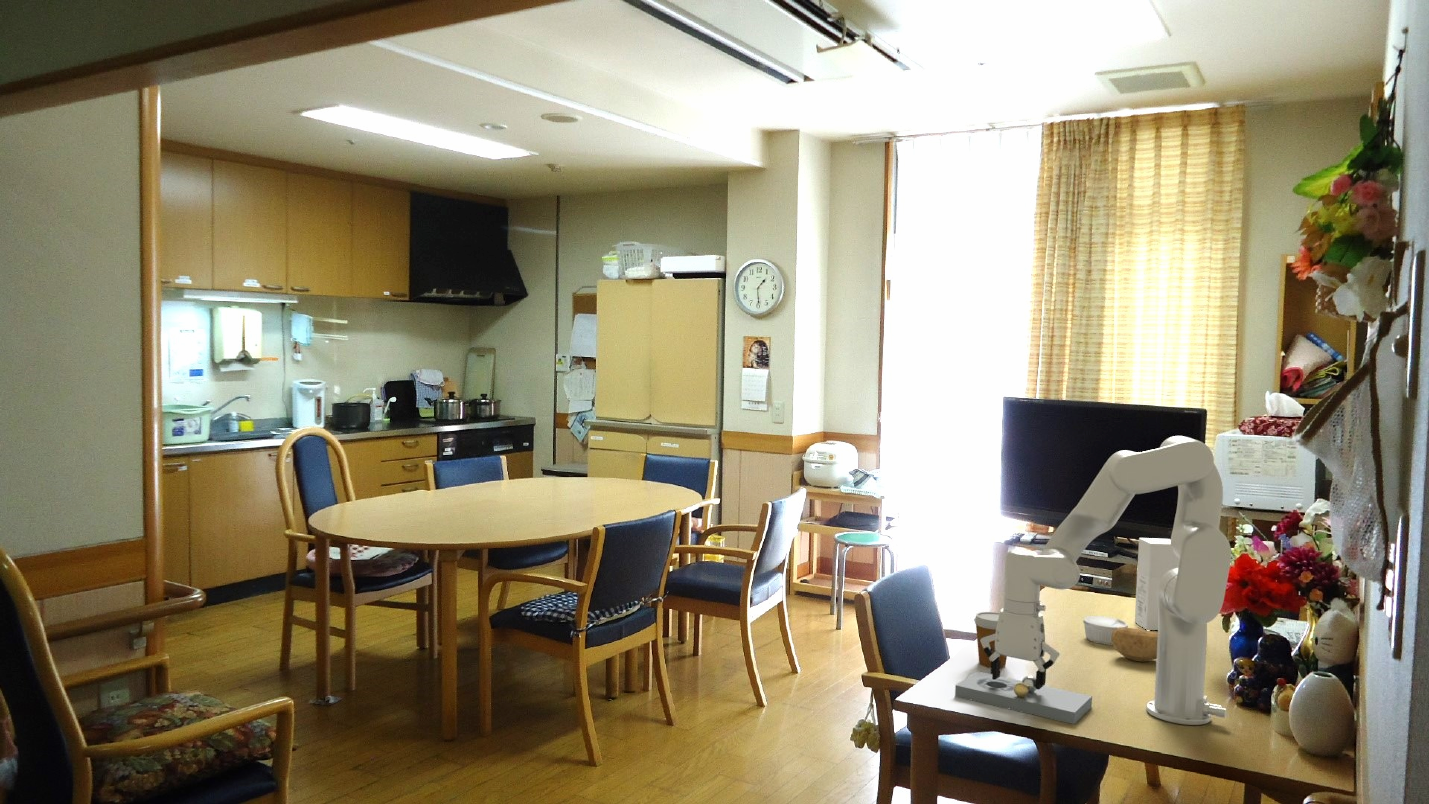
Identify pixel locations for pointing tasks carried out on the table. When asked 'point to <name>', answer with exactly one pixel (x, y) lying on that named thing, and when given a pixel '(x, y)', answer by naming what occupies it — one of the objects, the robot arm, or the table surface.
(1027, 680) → the ball
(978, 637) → the disposable coffee cup
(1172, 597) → the robot arm
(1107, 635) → the ramekin
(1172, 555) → the tall white carton
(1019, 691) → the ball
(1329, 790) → the table surface
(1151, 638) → the potato
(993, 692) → the hole board
